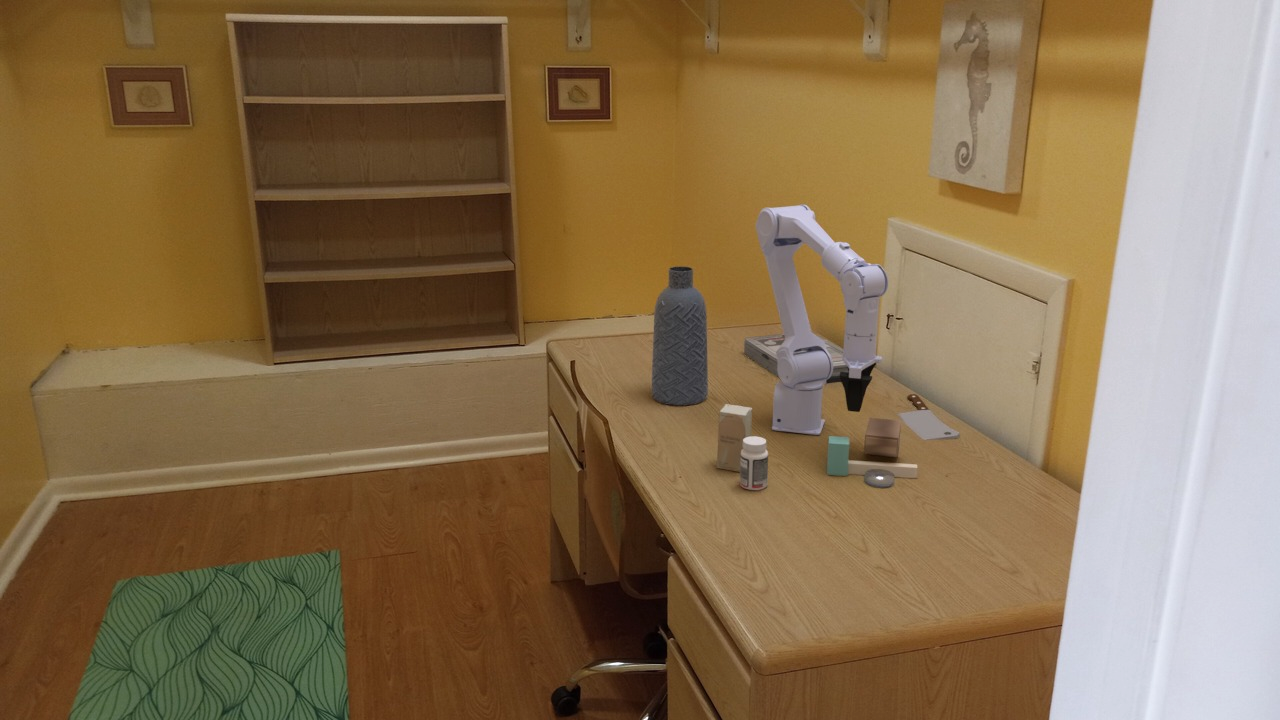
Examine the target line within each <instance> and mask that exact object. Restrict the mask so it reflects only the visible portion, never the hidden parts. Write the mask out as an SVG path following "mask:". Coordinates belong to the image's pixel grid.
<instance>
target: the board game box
mask: <svg viewBox="0 0 1280 720" xmlns="http://www.w3.org/2000/svg"><path fill="white" fill-rule="evenodd" d="M812 333H813V334H814V335H816V336H817V337H819V338H820V339H822V340H823V341H824V342H825V346H826V349H827V351H828V352H829V354H830V356H831V357H832V360H833V372H832V375H831V377H830V378H829V379H827V380H826V385H827V384H833V383H842V382H841V380H840V377H839V376H840V372H849V371H848V368H847V365H846V364H845V363H844V361H843V360H842V354H843V350H844V348H843V347H840V346H838V345H836V344H835V343H833V342H831V341H829V340H827V339H825V338H824V337H821V336H820V335H818V334H816V333H814V332H812ZM784 341H785V336H784V333H779V334H769V335H760V336H752V337H749V336H748V337H745V338H744V341H743V342H744V344H743V355H744V354H745V355H746V356H745V355H744V356H745V357H747V356H748V357H749V358H748V357H747V358H748V359H750V358H751V359H750V360H752V361H753V360H754V361H753V362H755V363H756V362H757V363H756V364H758V365H759V364H760V365H759V366H760V367H762V368H764V369H765V368H766V369H765V370H766V371H768V370H769V371H768V372H770V373H771V374H773V375H774V376H776V377H778V378H779V375H778V371H777V365H778V360H777V355H776V351H777V350H778V348H779V347H780V346H781V345H782V343H783V342H784ZM801 352H806V351H800V352H794V353H793V354H795V353H801Z"/></svg>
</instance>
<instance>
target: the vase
mask: <svg viewBox="0 0 1280 720" xmlns="http://www.w3.org/2000/svg"><path fill="white" fill-rule="evenodd" d="M653 313H654V314H653V337H652V338H653V339H652V340H653V341H652V363H651V367H652V368H651V388H650V389H651V390H650V391H651V396H652V398H653V400H655V401H656V402H659V403H661V404H665V405H670V406H671V405H672V406H688V405H689V406H690V405H695V404H699V403H702V402H705V400H706V399H707V397H708V394H709V392H708V391H709V382H708V381H709V379H708V378H709V377H708V365H709V364H708V326H707V325H708V324H707V323H708V321H707V319H708V318H707V317H708V315H707V306H706V301H705V298H704V296H703V295H702V293H701V292H700V290H698V288H697V287H695V286H694V268H692V267H690V266H672V267H669V268H668V285H667V286H666V287H665V288H664V289H663V290H661V291H660V293H659V295H658V296H657V298H656V301H655V306H654V312H653Z"/></svg>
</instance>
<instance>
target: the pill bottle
mask: <svg viewBox="0 0 1280 720" xmlns="http://www.w3.org/2000/svg"><path fill="white" fill-rule="evenodd" d="M768 472H769V452H768V450H767V439H765V438H764V437H761V436H755V435H754V436H750V437H746V438H744V439H743V449H742V451H741V460H740V473H739V484H740V486H741V487H742V488H743V489H745V490H749V491H761V490H764V489H765V488H766V487H767V486H768V478H769V477H768V476H769V475H768V474H769V473H768Z"/></svg>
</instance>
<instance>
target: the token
mask: <svg viewBox="0 0 1280 720" xmlns="http://www.w3.org/2000/svg"><path fill="white" fill-rule="evenodd" d="M895 479H896V477H895V475H894V474H893V473H892V472H890V471H887V470H883V469H871V470H868V471H866V472H865V475H864V482H865V484H866V485H867V486H870V487H873V488H877V489H887V488H892V487H893V486H894V485H895Z"/></svg>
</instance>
